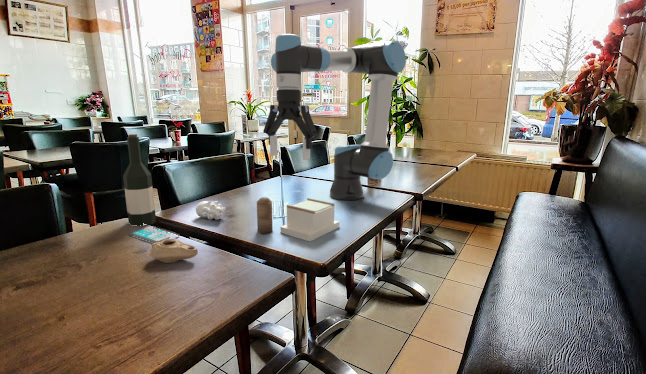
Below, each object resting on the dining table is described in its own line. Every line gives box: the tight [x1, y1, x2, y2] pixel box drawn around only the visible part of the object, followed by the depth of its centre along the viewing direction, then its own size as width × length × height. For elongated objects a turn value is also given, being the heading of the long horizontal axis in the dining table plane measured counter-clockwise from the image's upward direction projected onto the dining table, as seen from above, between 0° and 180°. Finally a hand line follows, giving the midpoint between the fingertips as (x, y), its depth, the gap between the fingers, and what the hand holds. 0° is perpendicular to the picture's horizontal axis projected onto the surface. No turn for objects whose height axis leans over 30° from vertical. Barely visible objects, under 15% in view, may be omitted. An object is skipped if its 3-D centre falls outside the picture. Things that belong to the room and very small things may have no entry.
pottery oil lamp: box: [148, 239, 199, 264], centre depth 91 cm, size 9×12×7 cm
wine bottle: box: [122, 133, 157, 227], centre depth 116 cm, size 8×8×30 cm
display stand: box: [280, 197, 340, 242], centre depth 113 cm, size 16×12×9 cm
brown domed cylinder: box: [256, 196, 274, 235], centre depth 112 cm, size 5×5×11 cm
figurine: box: [195, 200, 227, 221], centre depth 124 cm, size 7×7×12 cm
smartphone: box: [128, 226, 181, 243], centre depth 108 cm, size 9×1×15 cm
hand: (289, 157), depth 112 cm, fingers open, 13 cm apart
